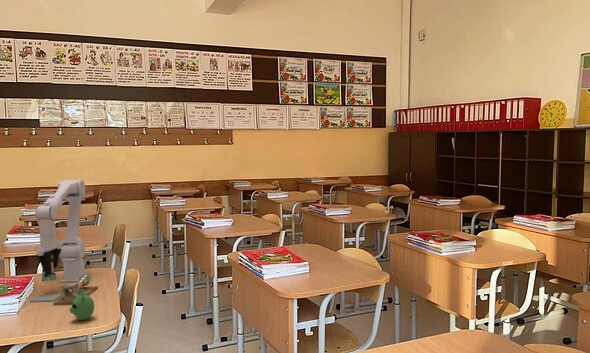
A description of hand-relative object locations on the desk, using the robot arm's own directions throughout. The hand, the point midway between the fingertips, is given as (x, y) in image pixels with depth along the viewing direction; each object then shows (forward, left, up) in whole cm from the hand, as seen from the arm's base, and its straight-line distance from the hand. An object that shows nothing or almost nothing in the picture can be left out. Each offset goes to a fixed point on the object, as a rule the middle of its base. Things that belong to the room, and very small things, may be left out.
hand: (50, 269), depth 193 cm
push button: (0, 0, -5) cm, 5 cm away
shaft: (+3, +12, -8) cm, 15 cm away
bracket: (+5, +12, -10) cm, 16 cm away
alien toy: (+30, +25, -10) cm, 41 cm away
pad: (+6, +1, -10) cm, 12 cm away
